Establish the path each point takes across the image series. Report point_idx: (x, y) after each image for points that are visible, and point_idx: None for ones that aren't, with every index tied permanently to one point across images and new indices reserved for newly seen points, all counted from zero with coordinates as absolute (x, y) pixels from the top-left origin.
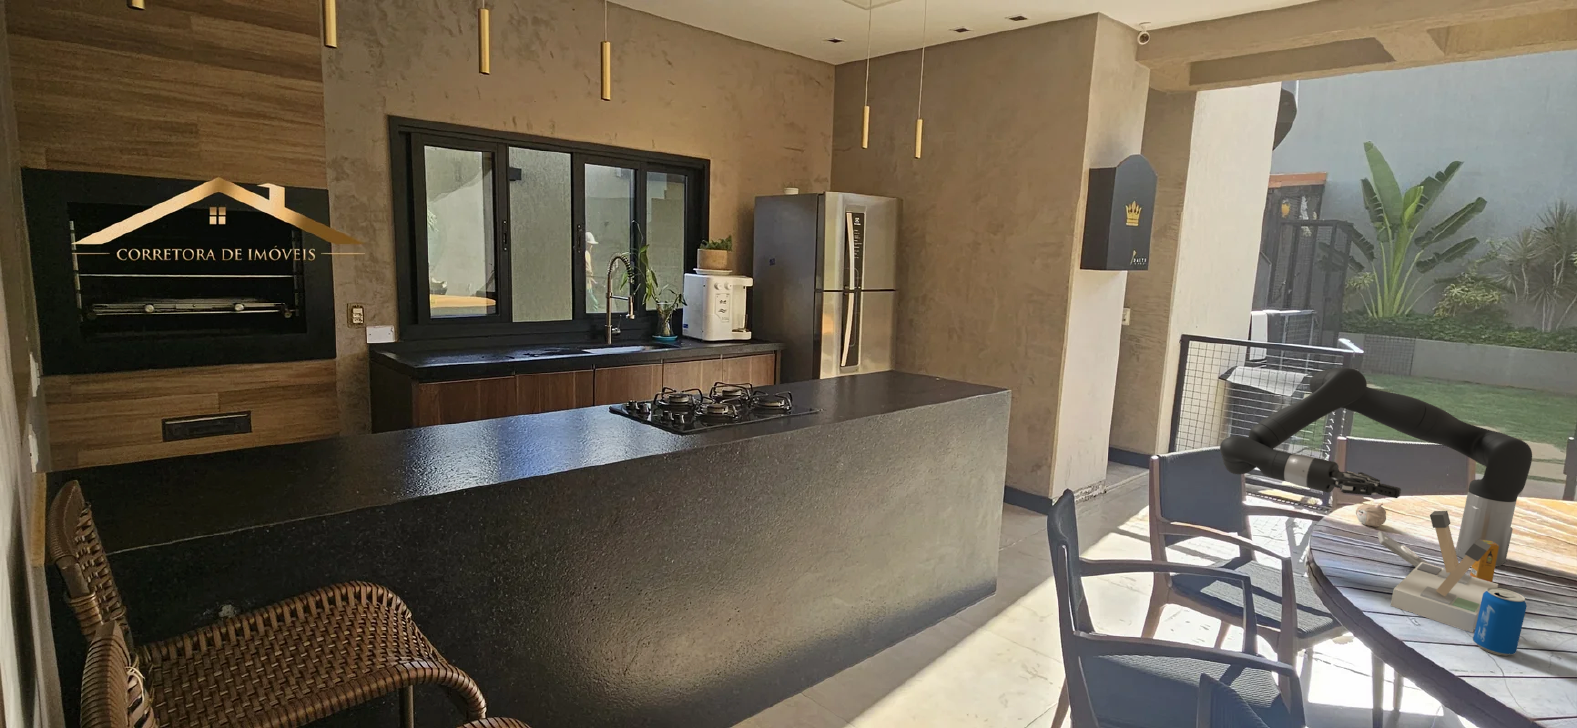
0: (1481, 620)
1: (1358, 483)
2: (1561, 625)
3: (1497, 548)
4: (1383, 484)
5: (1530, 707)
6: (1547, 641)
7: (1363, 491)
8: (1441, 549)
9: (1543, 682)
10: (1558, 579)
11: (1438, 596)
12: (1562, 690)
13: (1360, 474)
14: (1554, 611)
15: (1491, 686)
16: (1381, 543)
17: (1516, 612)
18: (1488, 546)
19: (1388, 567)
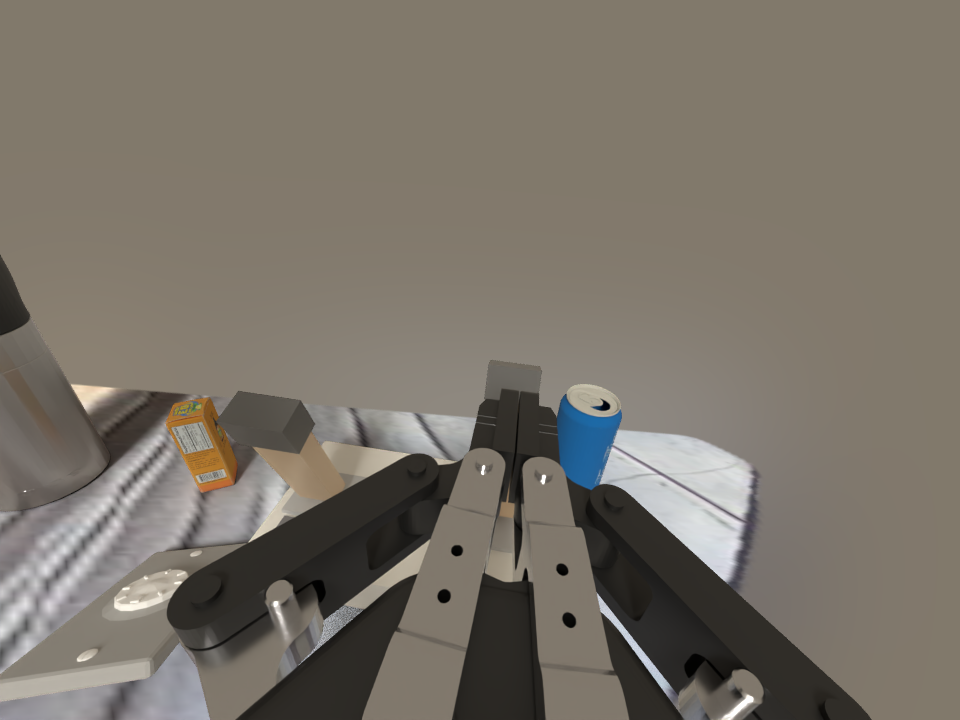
0: (603, 460)
1: (706, 582)
2: (389, 412)
3: (211, 404)
4: (504, 440)
5: (719, 458)
6: (469, 428)
7: (608, 580)
8: (320, 477)
9: (623, 442)
10: (165, 396)
11: (508, 521)
12: (623, 431)
13: (285, 596)
14: (332, 413)
15: (716, 486)
16: (152, 671)
17: (606, 406)
18: (506, 362)
19: (181, 672)
